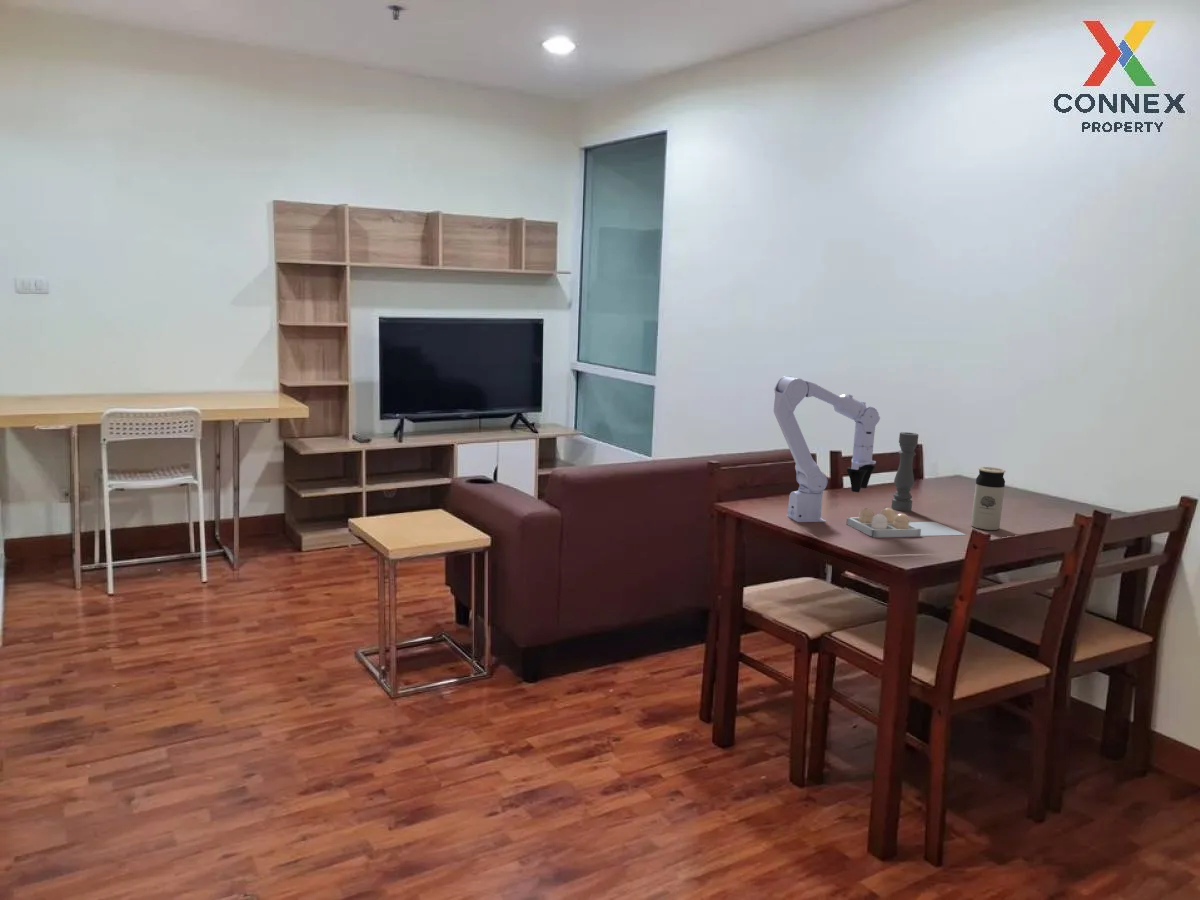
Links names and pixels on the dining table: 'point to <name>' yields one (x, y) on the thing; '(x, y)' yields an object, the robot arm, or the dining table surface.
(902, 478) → the candle holder
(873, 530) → the egg carton
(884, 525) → the white egg
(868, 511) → the brown egg left
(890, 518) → the brown egg far
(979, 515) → the travel mug
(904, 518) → the brown egg back
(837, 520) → the dining table surface
